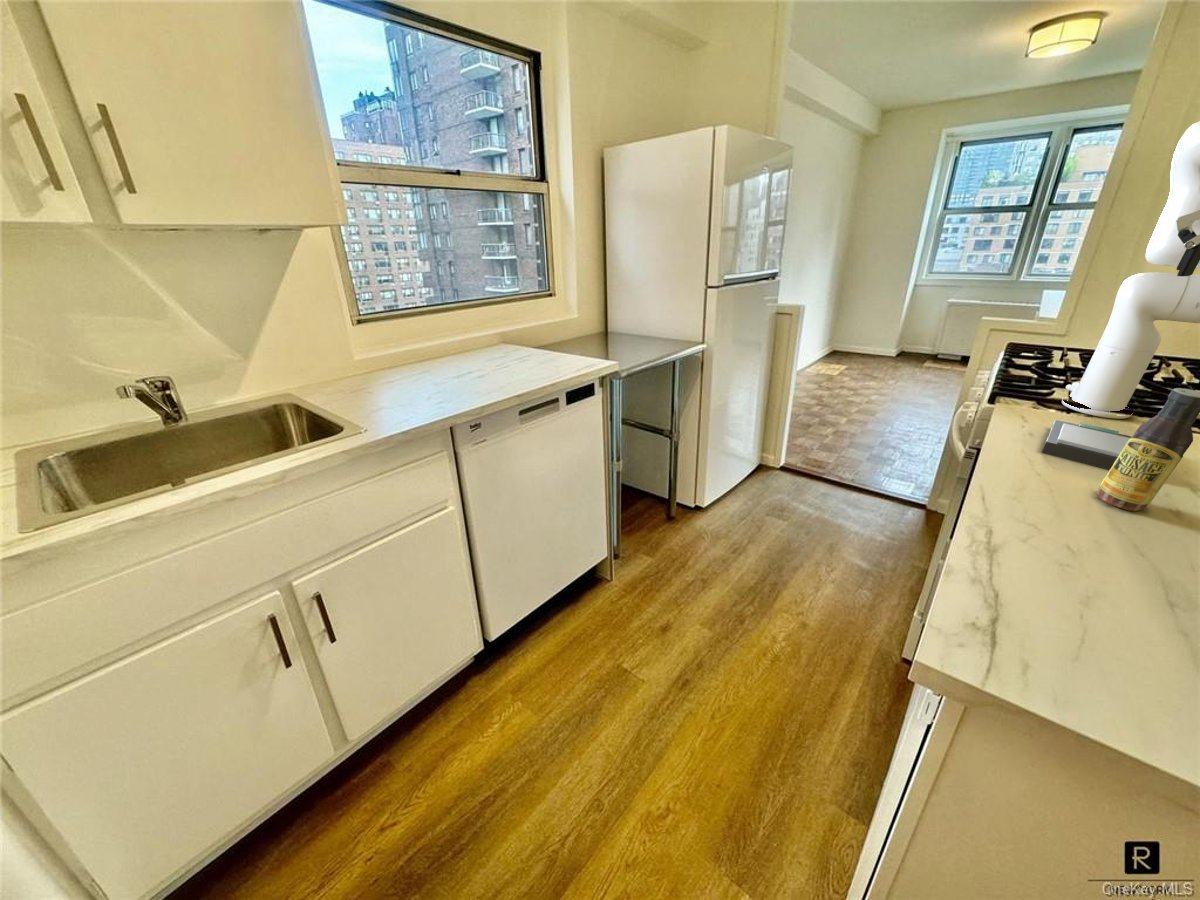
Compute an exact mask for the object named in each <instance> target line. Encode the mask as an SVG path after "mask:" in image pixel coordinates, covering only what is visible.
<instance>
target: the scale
mask: <svg viewBox="0 0 1200 900" xmlns="http://www.w3.org/2000/svg"><path fill="white" fill-rule="evenodd" d="M1132 436H1133V435H1127V434H1123V433H1120V431H1119V430H1115V429H1109V428H1106V427H1101V426H1097V425H1092V424H1087V423H1082V422H1080V423H1079V424H1077V423H1073V422H1067V421H1064V420H1059V419H1054V421H1053V423H1052V425H1051V427H1050V429H1049V431H1048V434H1047V437H1046V440H1045V441H1044V444H1043V446H1042V449H1041V453H1042V454H1045V455H1046V454H1047V455H1051V456H1055V457H1057V458H1062V459H1065V460H1069V461H1073V462H1077V463H1082V464H1086V465H1089V466H1094V467H1098V468H1101V469H1104V470H1108V471H1109V470H1110V469H1111V467H1112V466H1113V464H1114V463H1115V461H1116V460H1117V458H1118V456H1119V455H1120V453H1121V452H1122V450H1123V448H1124V447H1125V445H1126V444H1127V442H1128V441H1129V439H1130V438H1131V437H1132Z"/></svg>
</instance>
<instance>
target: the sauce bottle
mask: <svg viewBox="0 0 1200 900" xmlns="http://www.w3.org/2000/svg"><path fill="white" fill-rule="evenodd" d="M1199 415H1200V391H1198V390H1195V389H1190V388H1181V387H1176V388H1173V389H1172V390H1171V391H1170V393H1169V394H1168V395H1167V400H1166V402H1165V403H1164V405H1163V407H1162V408H1161V409H1160V411H1158V413H1157V414H1156V415H1155V416H1153V417H1151V418H1150V419H1148V420H1146V421H1145V422H1142V423H1141V424H1140V425H1139V426H1138V428H1137V429H1136V430H1135V432H1134V433H1133V434H1132V435H1131V436H1132V437H1131V438H1130V439H1129V441H1128V442H1127V444H1126V445H1125V447H1124V448H1123V450H1122V452H1121V453H1120V455H1119V456H1118V458H1117V460H1116V461H1115V463H1114V464H1113V466H1112V467H1111V469H1110V470H1108V471H1107V474H1106V475H1105V477H1104V478H1103V479H1102V481H1101V483H1100V485H1099V488H1098V489H1097V491H1096V496H1097V497H1098V499H1100V500H1101V501H1102V502H1104V503H1106V504H1108V505H1110V506H1113V507H1116V508H1119V509H1122V510H1125V511H1130V512H1134V511H1143V510H1145V509H1146V508H1147V507H1148V505H1150V504H1151V503H1152V502H1153V500H1154V499H1155V497H1156V496H1157V494H1158V493H1159V492H1160V490H1161V489H1162V488H1163V486H1164V484H1165V483H1166V481H1167V480H1168V479H1169V478H1170V476H1171V475H1172V473H1173V472H1174V471H1175V469H1176V468H1177V466H1178V465H1179V463H1180V462H1181V461H1182V459H1183V458H1184V455H1185V453H1186V452H1187V450H1188V449H1189V448H1190V446H1191V445H1192V444H1193V442H1194V434H1193V429H1192V427H1193V425H1194V423H1195V422H1196V419H1197V418H1198V416H1199Z"/></svg>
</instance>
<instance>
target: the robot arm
mask: <svg viewBox="0 0 1200 900" xmlns="http://www.w3.org/2000/svg"><path fill="white" fill-rule="evenodd" d="M1172 157H1173V158H1172V159H1171V160H1172V161H1171V168H1170V192H1169V196H1168V199H1167V202H1166V204H1165V207H1164V208H1163V211H1162V213H1161V215H1160V217H1159V219H1158V221H1157V223H1156V226H1155V228H1154V231H1153V233H1152V236H1151V238H1150V239H1149V243H1148V244H1147V247H1146V250H1145V256H1144V257H1145V260H1146V262H1147V263H1149V264H1152V265H1156V266H1163V267H1175V268H1176V271H1177V273H1176V272H1161V271H1158V272H1156V271H1153V272H1141V273H1137V274H1134V275H1131V276H1130V277H1128V278H1126V279H1125V280H1124V281H1123V282H1122V284H1121V285H1120V286H1119V288H1118V290H1117V293H1116V295H1115V299H1114V303H1113V306H1112V310H1111V314H1110V317H1109V320H1108V322H1107V324H1106V327H1105V329H1104V331H1103V333H1102V335H1101V338H1100V339H1099V342H1098V344H1097V346H1096V348H1095V350H1094V352H1093V354H1092V356H1091V358H1090V361H1089V362H1088V365H1087V366H1086V368H1085V371H1084V373H1083V374H1082V377H1081V379H1080V381H1075V382H1073V383H1071V384H1067V385H1065V390H1067V391H1070V394H1069V396H1070V397H1072V400H1073V401H1075V402H1078V403H1080V404H1083V405H1085V406H1087V407H1089V408H1091V409H1084V408H1080V409H1079V408H1077V407H1074V406H1071V405H1069V404H1067V403H1065V402H1064V401H1063V399H1062V400H1061V404H1062V406H1064V407H1066V408H1068V409H1070V410H1072V411H1075V412H1078V413H1082V414H1085V415H1090V416H1094V417H1100V418H1104V419H1105V418H1106V419H1115V420H1117V419H1120V420H1121V419H1123V420H1124V419H1128V418H1131V417H1132V416H1133V413H1132V414H1131V415H1126V416H1117V415H1115V414H1111V413H1108V412H1104V411H1109V412H1110V411H1120V410H1123V409H1125V407H1128V406H1127V405H1128V404H1129V402H1130V400H1131V398H1132V396H1133V394H1134V393H1135V391H1136V389H1137V387H1138V385H1139V383H1140V382H1141V380H1142V378H1143V376H1144V374H1145V372H1146V371H1147V369H1148V367H1149V365H1150V363H1151V361H1152V359H1153V358H1154V356H1155V354H1156V353H1157V350H1158V349H1159V347H1160V346H1161V345H1160V344H1161V341H1162V340H1161V338H1162V337H1161V334H1160V332H1159V330H1158V328H1157V327H1156V326H1155V324H1154V322H1155V321H1169V322H1179V323H1189V324H1200V274H1194V272H1195V271H1196V269H1200V120H1199V121H1197V122H1194V123H1193V124H1192V125H1190V126H1189V127H1188V128H1187V129H1186V130H1185V131H1184V133H1182V135H1181V137H1180V139H1179V141H1178V143H1177V146H1176V148H1175V151H1174V153H1173V156H1172ZM1067 401H1068V400H1067Z"/></svg>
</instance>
